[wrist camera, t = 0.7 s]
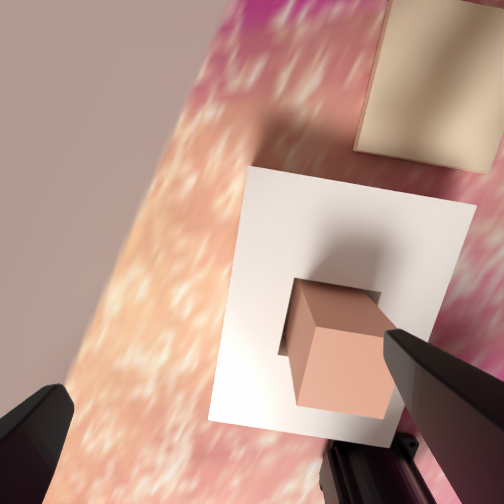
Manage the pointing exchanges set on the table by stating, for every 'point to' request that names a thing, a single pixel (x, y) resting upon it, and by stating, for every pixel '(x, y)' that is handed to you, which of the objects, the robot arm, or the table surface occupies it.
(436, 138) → the pad
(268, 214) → the socket block
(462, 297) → the table surface
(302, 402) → the plug
